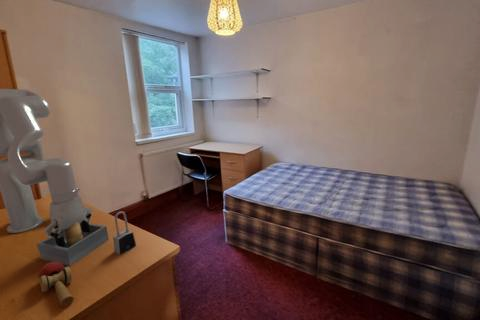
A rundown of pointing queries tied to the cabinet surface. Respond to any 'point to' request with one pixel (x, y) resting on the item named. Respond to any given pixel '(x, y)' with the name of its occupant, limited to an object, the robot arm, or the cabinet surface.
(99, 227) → the peg box
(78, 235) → the peg
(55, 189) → the robot arm
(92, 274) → the cabinet surface
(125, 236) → the padlock
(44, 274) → the kendama
